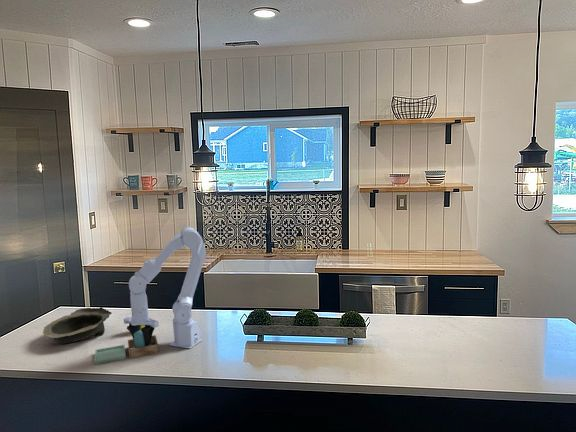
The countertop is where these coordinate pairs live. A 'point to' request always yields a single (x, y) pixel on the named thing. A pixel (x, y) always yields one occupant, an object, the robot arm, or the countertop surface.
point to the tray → (110, 354)
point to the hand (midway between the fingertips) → (142, 343)
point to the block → (139, 339)
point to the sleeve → (143, 348)
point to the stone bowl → (77, 325)
